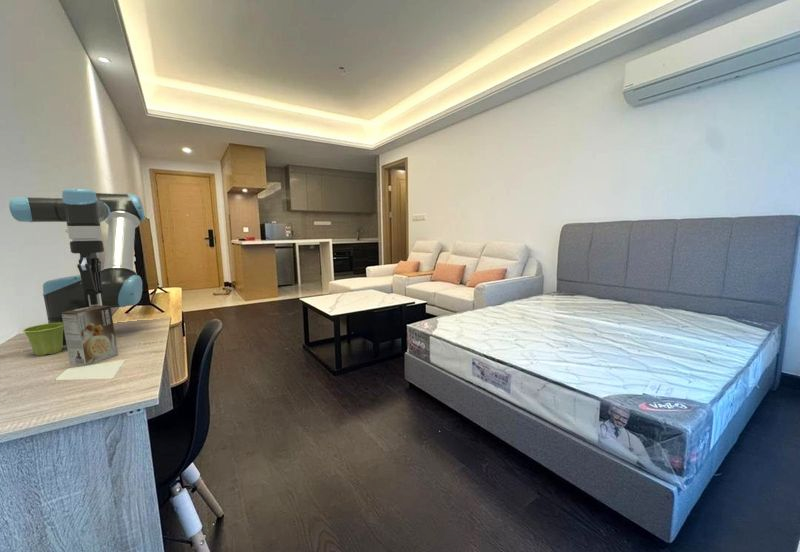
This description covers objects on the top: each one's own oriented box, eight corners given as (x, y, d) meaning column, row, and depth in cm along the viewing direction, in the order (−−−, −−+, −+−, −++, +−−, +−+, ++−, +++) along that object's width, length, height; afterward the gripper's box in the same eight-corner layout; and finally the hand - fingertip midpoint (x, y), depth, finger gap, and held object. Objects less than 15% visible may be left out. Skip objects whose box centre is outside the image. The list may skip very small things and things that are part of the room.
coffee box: (102, 353, 104) (95, 304, 102) (118, 354, 103) (111, 305, 101) (68, 365, 96) (60, 312, 93) (86, 366, 94) (77, 312, 92)
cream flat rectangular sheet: (67, 370, 92) (66, 368, 92) (125, 360, 98) (125, 359, 98) (37, 398, 77) (36, 396, 76) (109, 385, 83) (109, 383, 83)
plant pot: (77, 347, 110) (73, 322, 109) (47, 358, 101) (42, 331, 100) (50, 347, 111) (46, 322, 109) (18, 358, 101) (13, 331, 100)
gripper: (77, 240, 105) (88, 311, 108) (61, 240, 94) (73, 320, 97) (107, 239, 109) (117, 308, 112) (95, 240, 98) (106, 316, 101)
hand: (97, 313), depth 105 cm, fingers closed
